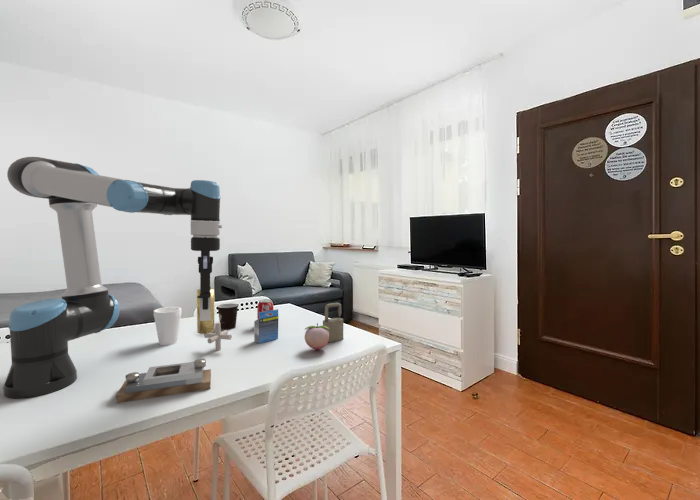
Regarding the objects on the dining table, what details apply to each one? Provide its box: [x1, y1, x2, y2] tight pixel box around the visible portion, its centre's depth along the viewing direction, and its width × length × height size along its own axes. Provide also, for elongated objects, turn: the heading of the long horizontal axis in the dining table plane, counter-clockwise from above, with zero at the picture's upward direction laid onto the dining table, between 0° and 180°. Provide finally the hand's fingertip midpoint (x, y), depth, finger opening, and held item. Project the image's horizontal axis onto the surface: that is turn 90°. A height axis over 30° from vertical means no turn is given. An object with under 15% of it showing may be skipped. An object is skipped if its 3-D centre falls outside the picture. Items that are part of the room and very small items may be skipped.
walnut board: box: [115, 368, 212, 404], centre depth 93 cm, size 22×9×2 cm, turn 111°
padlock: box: [322, 302, 344, 343], centre depth 135 cm, size 4×8×15 cm, turn 122°
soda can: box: [256, 298, 274, 320], centre depth 153 cm, size 7×7×12 cm
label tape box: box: [253, 308, 279, 344], centre depth 134 cm, size 9×4×12 cm, turn 135°
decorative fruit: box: [303, 322, 330, 351], centre depth 123 cm, size 9×8×10 cm
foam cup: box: [153, 306, 183, 346], centre depth 130 cm, size 10×9×13 cm
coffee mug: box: [217, 303, 239, 331], centre depth 150 cm, size 12×9×10 cm
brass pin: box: [196, 288, 215, 335], centre depth 96 cm, size 4×4×12 cm
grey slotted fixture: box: [125, 358, 207, 394], centre depth 93 cm, size 20×9×5 cm, turn 111°
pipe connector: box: [203, 321, 232, 352], centre depth 123 cm, size 10×10×10 cm
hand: (205, 317), depth 96 cm, fingers closed on brass pin, 4 cm apart
